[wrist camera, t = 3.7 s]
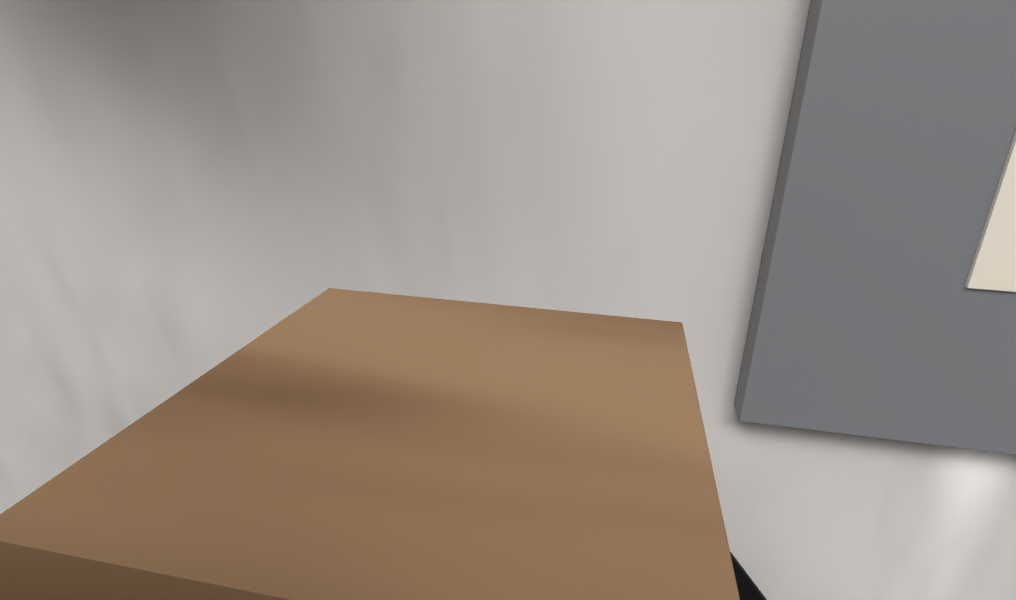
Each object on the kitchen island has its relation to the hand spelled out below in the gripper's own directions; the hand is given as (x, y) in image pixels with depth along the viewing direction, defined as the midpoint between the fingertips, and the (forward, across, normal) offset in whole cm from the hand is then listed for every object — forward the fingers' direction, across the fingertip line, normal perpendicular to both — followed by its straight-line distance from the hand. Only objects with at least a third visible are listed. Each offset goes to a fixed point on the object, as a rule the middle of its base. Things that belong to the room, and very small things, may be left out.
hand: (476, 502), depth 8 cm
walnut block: (+1, 0, 0) cm, 1 cm away
